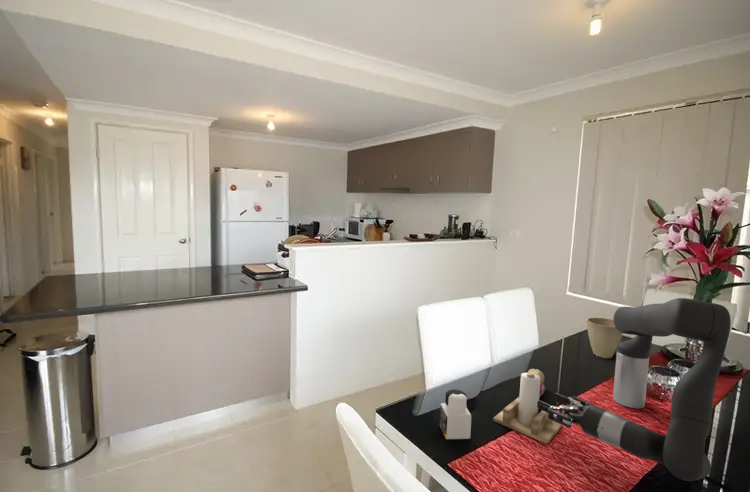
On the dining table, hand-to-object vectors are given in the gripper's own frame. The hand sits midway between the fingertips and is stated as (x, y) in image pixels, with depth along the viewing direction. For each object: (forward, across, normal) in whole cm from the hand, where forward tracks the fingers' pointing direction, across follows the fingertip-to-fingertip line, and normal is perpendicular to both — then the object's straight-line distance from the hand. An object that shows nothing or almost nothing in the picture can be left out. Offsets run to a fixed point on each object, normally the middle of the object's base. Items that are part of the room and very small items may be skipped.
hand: (546, 399), depth 109 cm
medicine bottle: (+15, +22, +10) cm, 28 cm away
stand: (+6, 0, +10) cm, 11 cm away
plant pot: (+20, -83, +10) cm, 86 cm away
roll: (+5, 0, +9) cm, 10 cm away
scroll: (+14, -18, +10) cm, 25 cm away
